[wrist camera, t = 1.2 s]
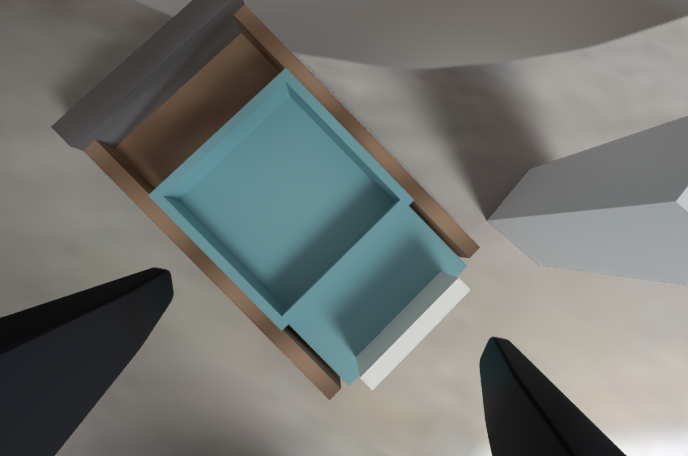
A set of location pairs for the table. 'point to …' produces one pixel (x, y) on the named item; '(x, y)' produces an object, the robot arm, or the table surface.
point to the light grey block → (607, 208)
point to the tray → (315, 232)
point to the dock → (203, 122)
